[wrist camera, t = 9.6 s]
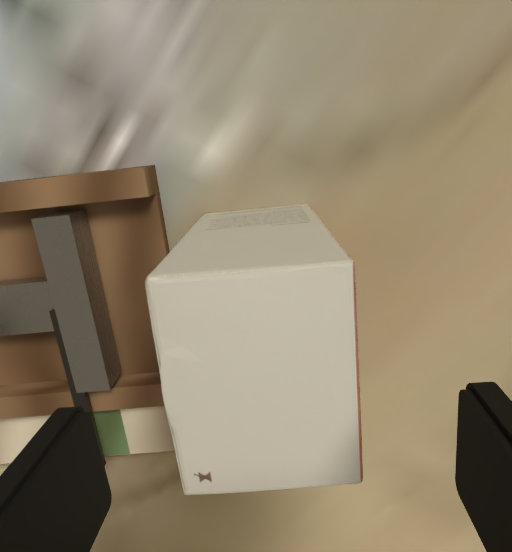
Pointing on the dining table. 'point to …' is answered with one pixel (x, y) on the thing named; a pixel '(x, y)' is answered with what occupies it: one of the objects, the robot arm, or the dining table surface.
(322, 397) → the small box
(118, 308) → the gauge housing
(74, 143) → the dining table surface
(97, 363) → the gauge carriage
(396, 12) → the dining table surface
